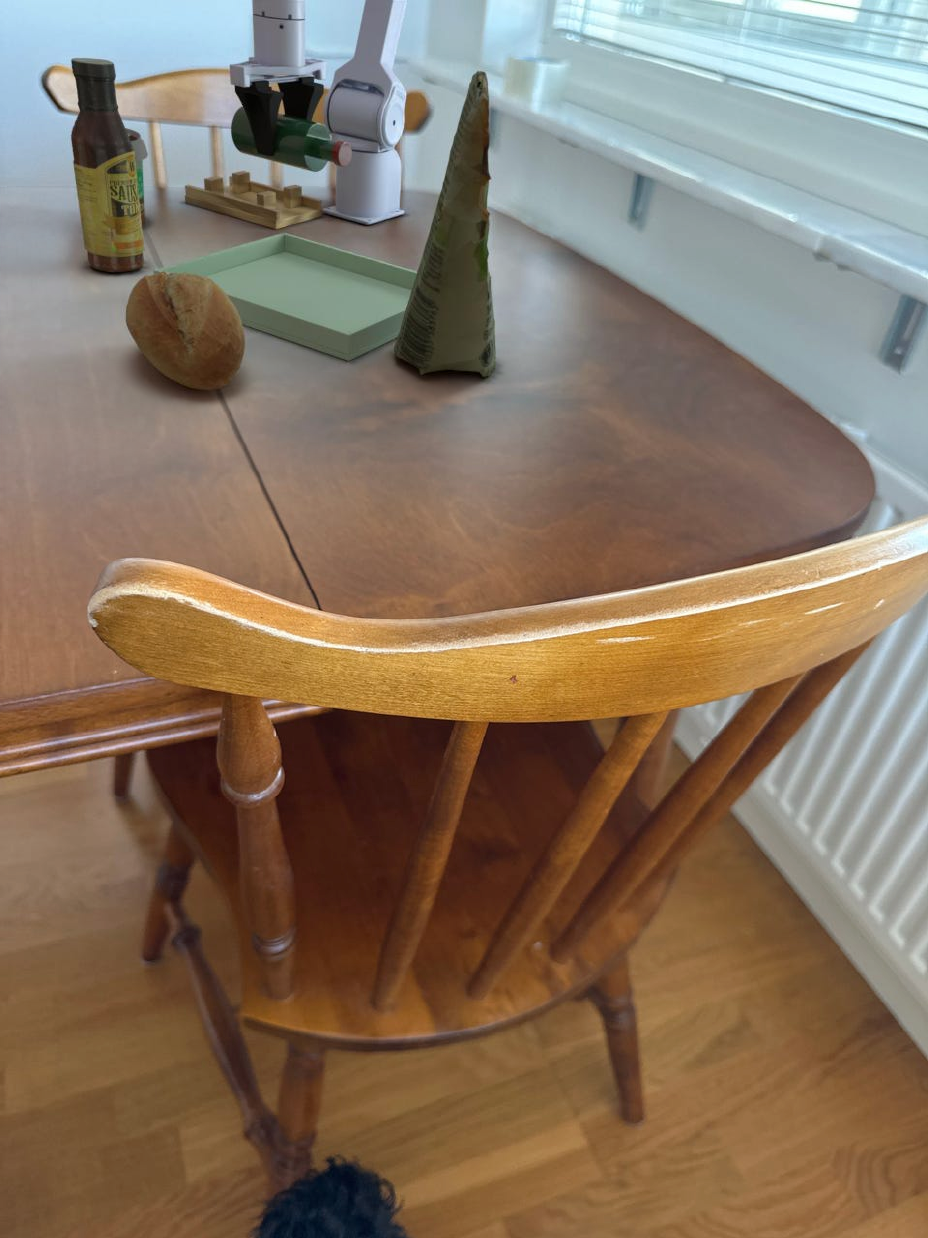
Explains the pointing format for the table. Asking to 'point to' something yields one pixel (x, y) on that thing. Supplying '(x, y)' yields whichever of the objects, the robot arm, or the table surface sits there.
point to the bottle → (293, 142)
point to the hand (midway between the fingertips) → (281, 151)
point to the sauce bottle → (105, 172)
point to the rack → (255, 201)
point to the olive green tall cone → (456, 259)
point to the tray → (309, 292)
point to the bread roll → (186, 329)
